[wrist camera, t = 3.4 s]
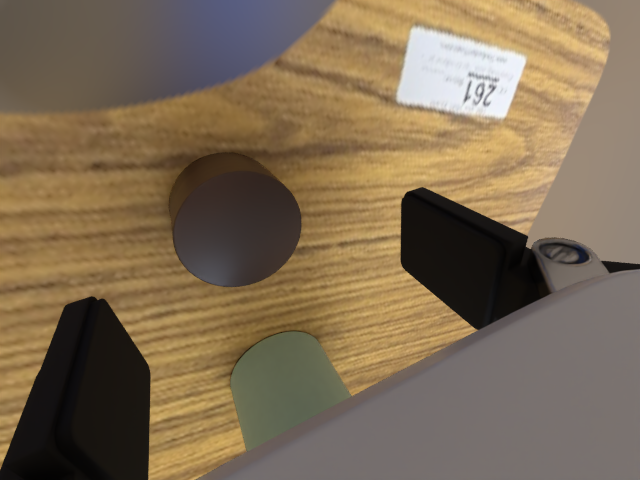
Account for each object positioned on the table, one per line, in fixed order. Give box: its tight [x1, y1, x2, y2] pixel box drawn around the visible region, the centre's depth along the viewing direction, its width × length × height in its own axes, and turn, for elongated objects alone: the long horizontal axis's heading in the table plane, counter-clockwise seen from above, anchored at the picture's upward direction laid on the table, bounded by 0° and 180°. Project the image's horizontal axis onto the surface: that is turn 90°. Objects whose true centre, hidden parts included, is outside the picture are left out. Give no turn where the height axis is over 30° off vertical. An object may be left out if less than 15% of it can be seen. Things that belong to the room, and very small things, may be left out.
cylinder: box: [169, 153, 301, 287], centre depth 14 cm, size 5×5×3 cm
